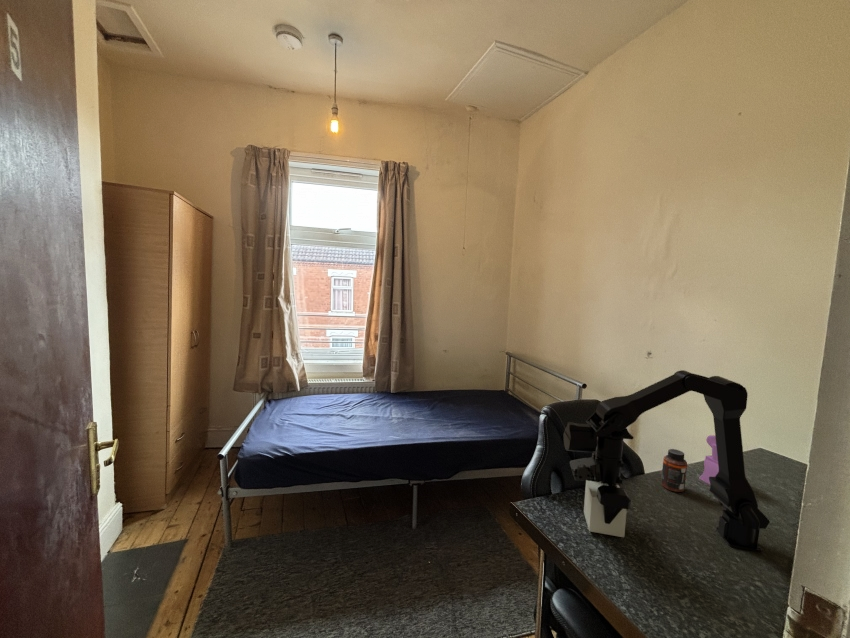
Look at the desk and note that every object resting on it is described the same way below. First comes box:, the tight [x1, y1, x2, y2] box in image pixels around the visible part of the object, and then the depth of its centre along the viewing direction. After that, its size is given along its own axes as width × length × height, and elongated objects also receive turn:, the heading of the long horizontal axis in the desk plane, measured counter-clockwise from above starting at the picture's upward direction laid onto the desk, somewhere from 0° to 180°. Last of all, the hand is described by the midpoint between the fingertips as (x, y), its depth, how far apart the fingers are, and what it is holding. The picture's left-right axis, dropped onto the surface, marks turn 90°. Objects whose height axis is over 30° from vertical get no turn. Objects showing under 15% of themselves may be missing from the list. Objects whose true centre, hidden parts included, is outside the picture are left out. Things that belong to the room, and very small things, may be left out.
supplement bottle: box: [660, 448, 688, 493], centre depth 110 cm, size 6×6×11 cm
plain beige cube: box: [583, 480, 628, 538], centre depth 91 cm, size 8×8×9 cm
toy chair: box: [698, 434, 719, 486], centre depth 114 cm, size 8×9×15 cm
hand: (603, 513), depth 91 cm, fingers closed on plain beige cube, 8 cm apart
